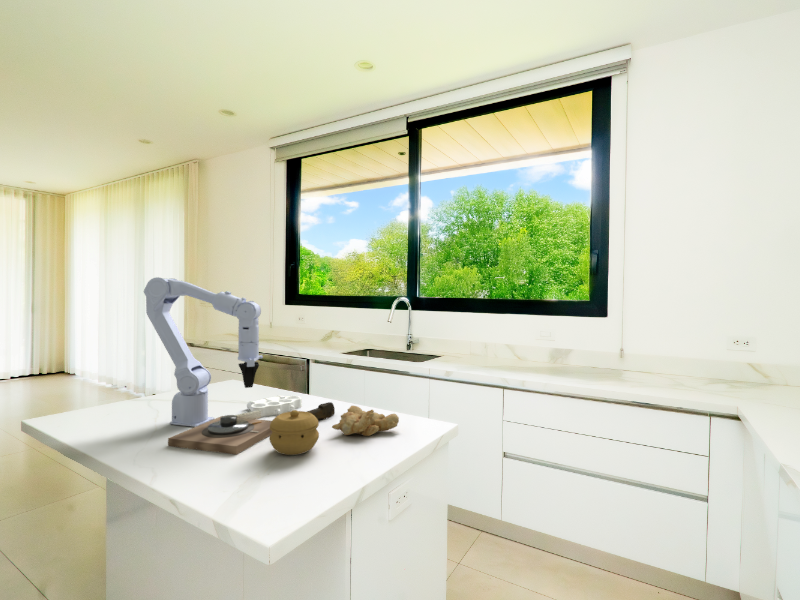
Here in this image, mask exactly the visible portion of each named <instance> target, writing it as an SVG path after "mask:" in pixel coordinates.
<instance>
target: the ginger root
mask: <svg viewBox="0 0 800 600" xmlns="http://www.w3.org/2000/svg"><path fill="white" fill-rule="evenodd" d="M399 419H400V417H399V416H398V414H396V413H391V414H388V415H386V416H385V414H383V413H378V412H375V410H374V409H370V410H367V411H365V410H363V409H362V408H361V407H360V406H357V405H351V406H349V407H348V408H347V412H344V413H343V414H341V415H340V420H339V422H338V423H335V424H332V426H331V428H332V429H333V430H337V431H338V430H339V431H340V432H342V434H344V435H345V436H349V435H353V434H358V435H362V436H365V437H370V436H372V435H374V434H376V433H378V432H384V431H385V432H386V431H389V430H391V429H394V428H396V427H398V423H399Z"/></svg>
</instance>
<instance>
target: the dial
mask: <svg viewBox="0 0 800 600" xmlns="http://www.w3.org/2000/svg"><path fill="white" fill-rule="evenodd" d="M221 416H222V417H221ZM221 416H220V417H221V418H220V421H217V422H214V423H212V424H210V425H209V426H208V432H209V433H211V434H218V435H224V434H233V433H238V432H241V431H244V430H246V429H247V428H248V421H250V420H254V419H258V420H260V419H261V418H262V417H261V411H260V410H257V411H252V412H251V411H248V412H244V413H238V414H235V415H234V414H227V415H226V414H225V415H221Z"/></svg>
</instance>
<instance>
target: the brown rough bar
mask: <svg viewBox="0 0 800 600" xmlns="http://www.w3.org/2000/svg"><path fill="white" fill-rule="evenodd" d="M306 412H309V413H311V414H313V415H314V416H315V417H316V418H317V419H318V420H326V418H327V419H328V418H332V417H333V416H334V415H335V412H336V411H335V405H334V403H333V402H332V401H331V402H330V401H329V402H325V403H320V404H319V405H318V407H316V408H313V409H311V410H306Z"/></svg>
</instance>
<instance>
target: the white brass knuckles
mask: <svg viewBox="0 0 800 600" xmlns="http://www.w3.org/2000/svg"><path fill="white" fill-rule="evenodd" d="M302 400H303V398H302V397H301V396H299V395H290V396H284V395H276V396H272V397H267V398H262V399H257V400H253V401H248V402H247V403H246V408H247V410H248V409H250V410H249V411H250V412H252V411H257V410H260V411H261V418H264V417H267V416H276V415H277V416H278V415H280V414H282V413H286V412H291V411H293V410H297V409H301V408H302V407H303V406H302V405H303V404H302V403H303V401H302Z"/></svg>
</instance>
